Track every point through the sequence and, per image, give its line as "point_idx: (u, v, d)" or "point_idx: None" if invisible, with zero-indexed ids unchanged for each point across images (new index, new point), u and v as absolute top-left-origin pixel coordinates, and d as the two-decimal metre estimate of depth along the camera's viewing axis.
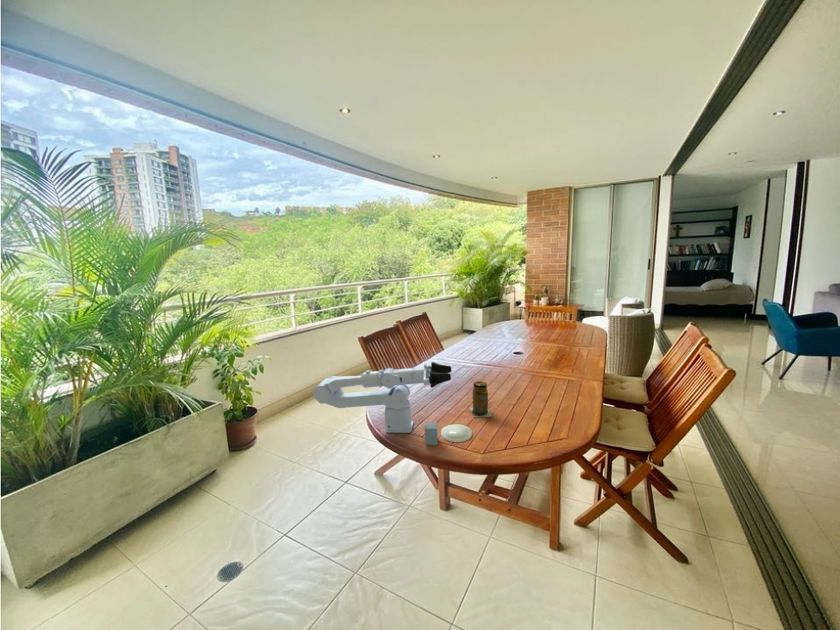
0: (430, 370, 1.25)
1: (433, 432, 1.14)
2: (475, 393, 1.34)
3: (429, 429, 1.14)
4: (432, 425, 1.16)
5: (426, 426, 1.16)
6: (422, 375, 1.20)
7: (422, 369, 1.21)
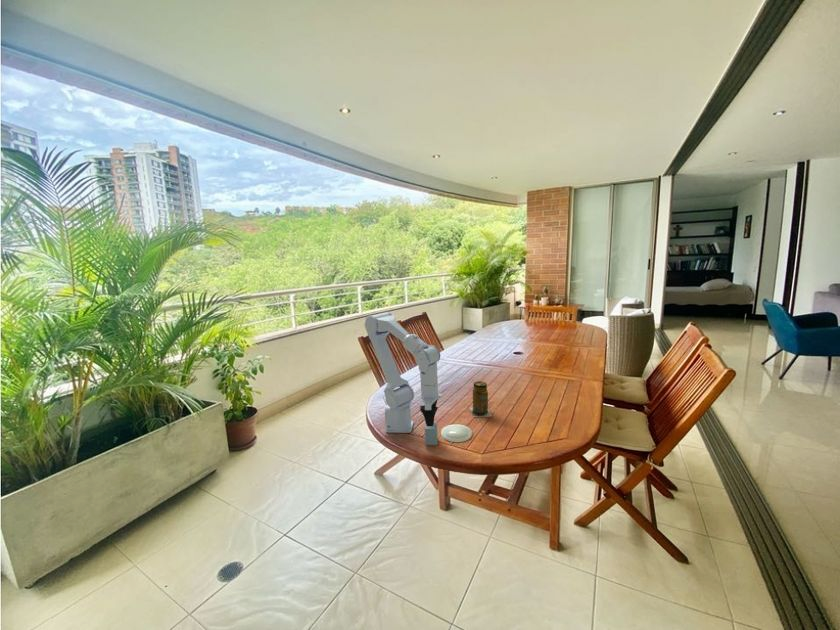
0: None
1: (433, 432, 1.14)
2: (475, 393, 1.34)
3: (429, 429, 1.14)
4: None
5: (426, 426, 1.16)
6: (431, 396, 1.11)
7: (437, 394, 1.12)
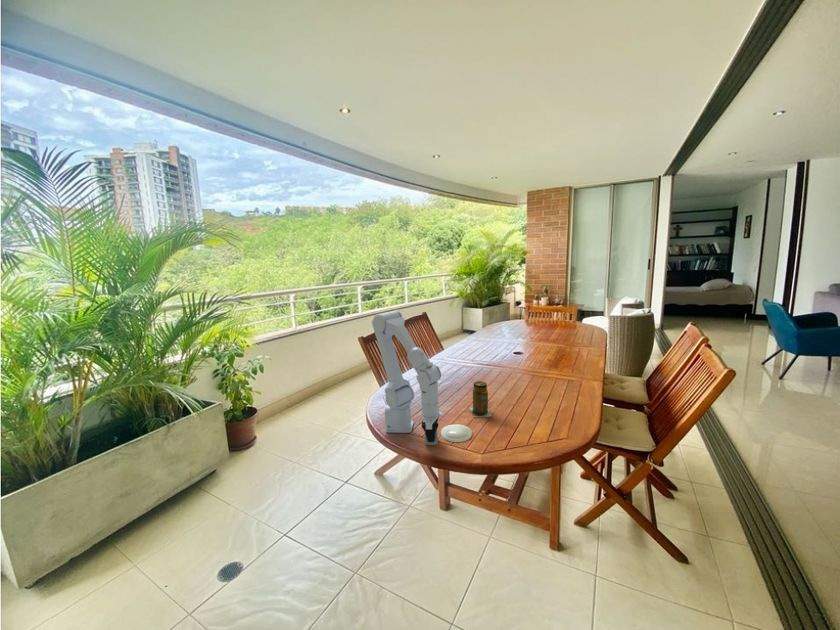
0: None
1: None
2: (475, 393, 1.34)
3: None
4: None
5: None
6: (432, 415, 1.12)
7: (437, 413, 1.14)
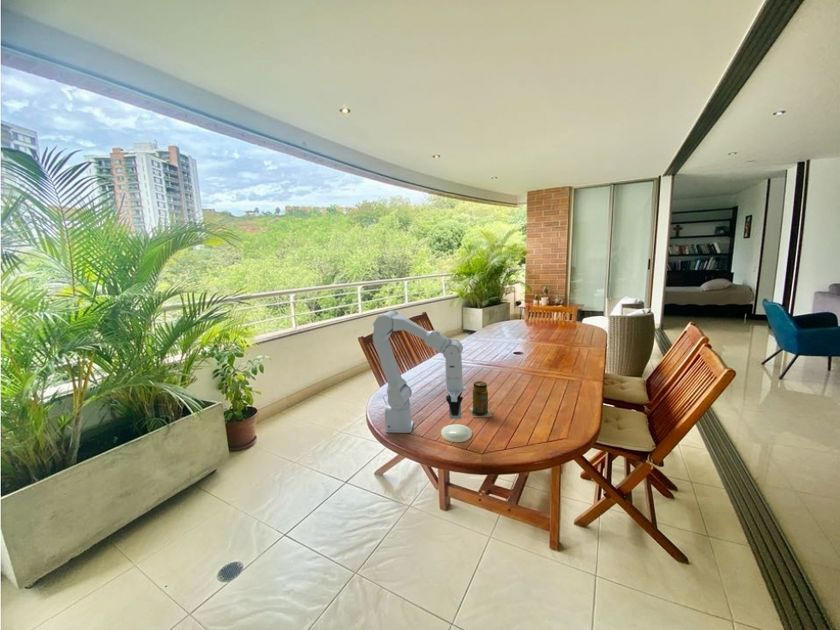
0: None
1: None
2: (475, 393, 1.34)
3: None
4: None
5: None
6: (456, 388, 1.15)
7: (461, 387, 1.16)
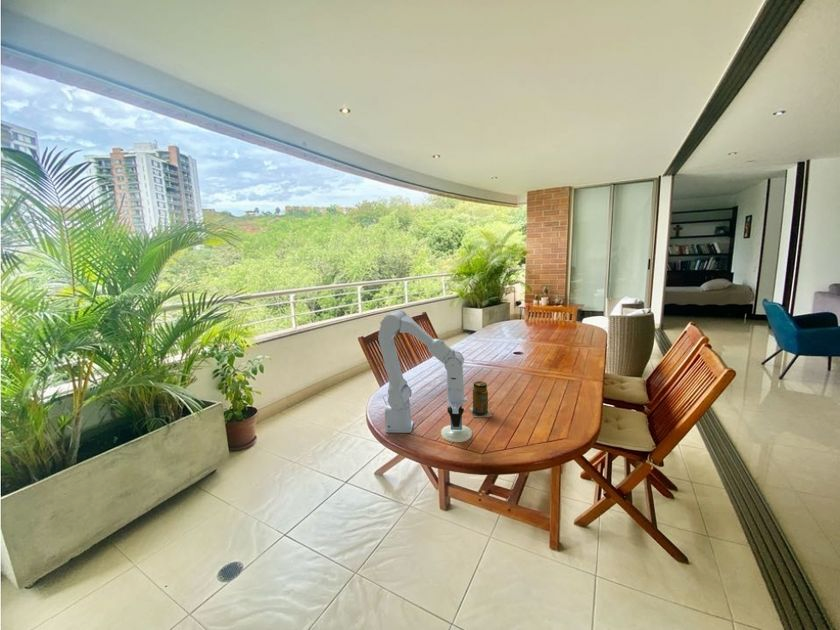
0: None
1: None
2: (475, 393, 1.34)
3: None
4: None
5: None
6: (458, 400, 1.16)
7: (462, 398, 1.17)
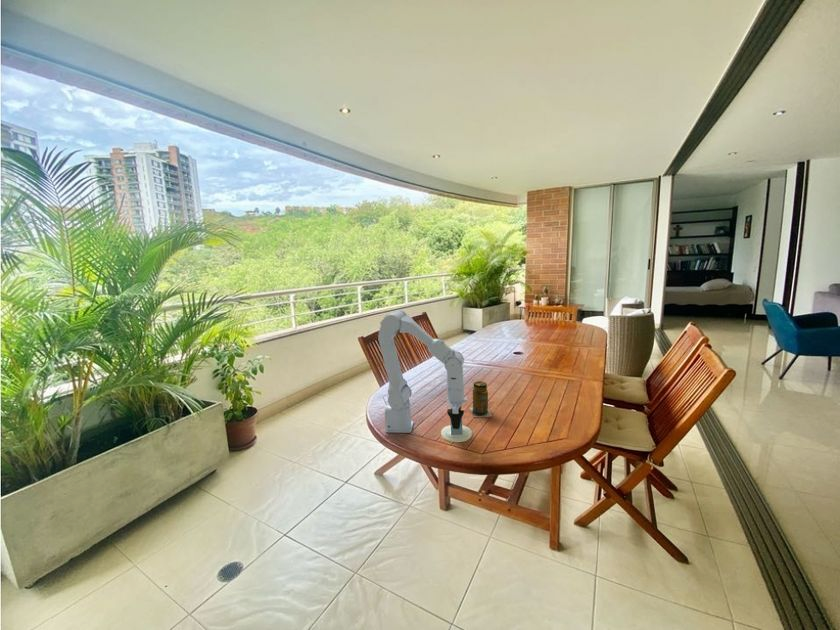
0: None
1: None
2: (475, 393, 1.34)
3: None
4: None
5: None
6: (458, 400, 1.16)
7: (462, 398, 1.17)
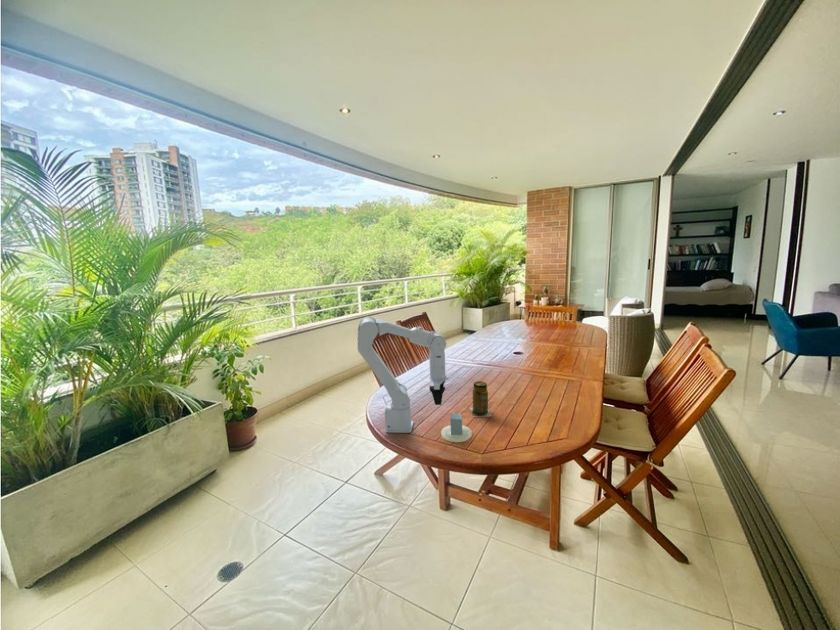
0: None
1: (458, 423, 1.19)
2: (475, 393, 1.34)
3: (455, 419, 1.19)
4: (457, 416, 1.20)
5: (451, 417, 1.20)
6: (439, 377, 1.23)
7: (444, 376, 1.25)
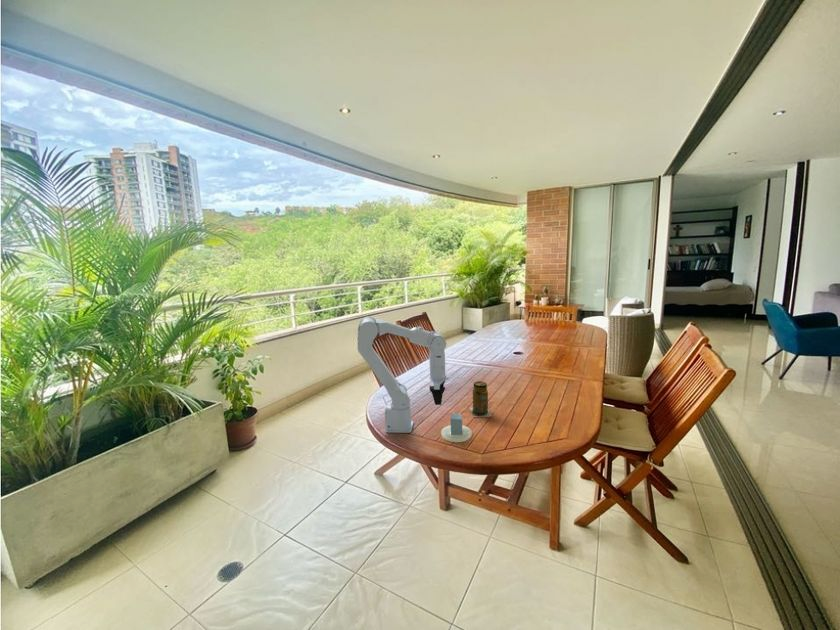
0: None
1: (458, 423, 1.19)
2: (475, 393, 1.34)
3: (455, 419, 1.19)
4: (457, 416, 1.20)
5: (451, 417, 1.20)
6: (439, 377, 1.23)
7: (444, 376, 1.25)
